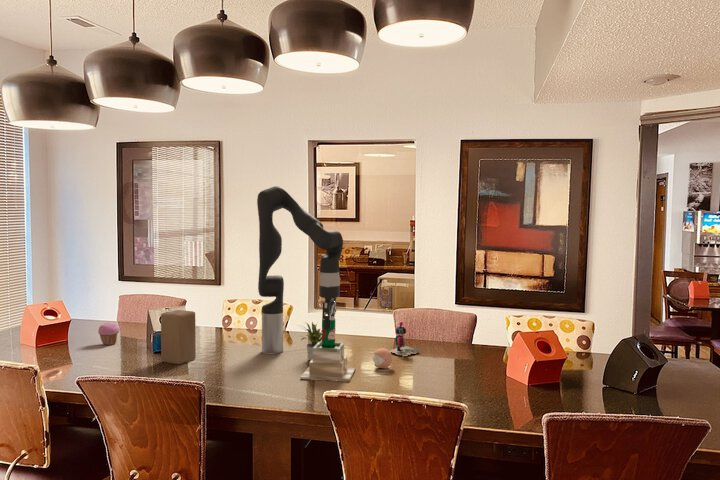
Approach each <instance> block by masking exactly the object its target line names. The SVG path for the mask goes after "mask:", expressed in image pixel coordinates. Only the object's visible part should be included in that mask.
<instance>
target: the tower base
mask: <svg viewBox="0 0 720 480" xmlns="http://www.w3.org/2000/svg"><path fill="white" fill-rule="evenodd" d="M308 363H309V364H308V367H307V368H306V370H305V371H304V372H303V373H302V374H301V376H300V379H311V380H310V381H317V380H332V381H331V382H336V380H337V381H349V380H350V378H351V377H352V378H353V376H352V375H354V374H355V372H356V367H348V355H345V342H338V341H337V342H336V341H335V348H322V341H320V342H318V343H317V344H316V345H315V346H314V347H313V359H312V360H311V361H309V362H308ZM354 371H355V372H354ZM353 373H354V374H353ZM352 378H351V379H352ZM313 379H314V380H313ZM350 381H351V380H350Z"/></svg>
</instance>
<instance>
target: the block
mask: <svg viewBox="0 0 720 480" xmlns="http://www.w3.org/2000/svg"><path fill="white" fill-rule="evenodd" d="M196 344H197V342H196V312H195V311H191V310H183V309H175V310H171V311H165V312H163V313H161V314H160V347H161V349H160V350H161V351H160V353H161V354H160V356H161V357H160V358H161V359H160V360H161V362H162V363H166V362H167V364H174V365H182V364H185V363H188V362H190V361H193V360H196V358H197V357H196V356H197V355H196V353H197V352H196V350H197V349H196Z"/></svg>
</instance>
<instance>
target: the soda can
mask: <svg viewBox="0 0 720 480" xmlns="http://www.w3.org/2000/svg"><path fill="white" fill-rule="evenodd" d="M321 331H322V332H321V333H322V335H321V337H322V340H321V342H322V348H335V342H336V317H335V318H334V316H331V319H330V330H324V319H321Z"/></svg>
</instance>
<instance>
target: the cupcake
mask: <svg viewBox="0 0 720 480" xmlns="http://www.w3.org/2000/svg"><path fill="white" fill-rule="evenodd" d="M97 331H98V332H97V333H98V335H99V338H100V340H101V342H102V344H103V345H107V346H111V345H115V344H116V343H117V339H118V333H120V326H118V325H117V323H116V322H106V323H105V322H104V323H103V324H101V325H100V326H99V327H98V330H97Z"/></svg>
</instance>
